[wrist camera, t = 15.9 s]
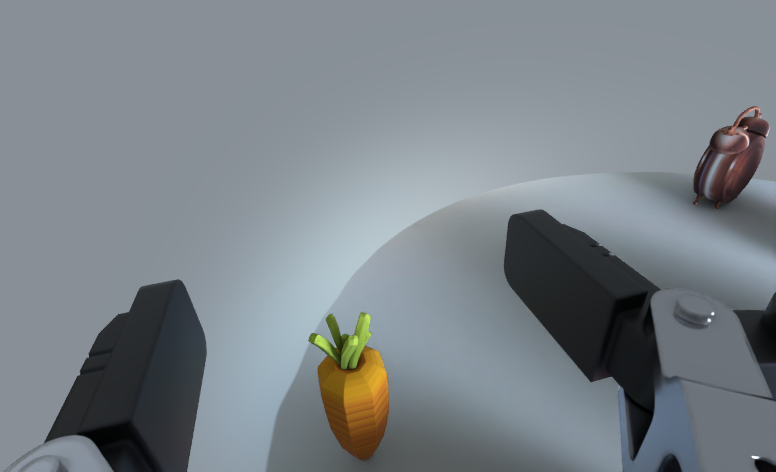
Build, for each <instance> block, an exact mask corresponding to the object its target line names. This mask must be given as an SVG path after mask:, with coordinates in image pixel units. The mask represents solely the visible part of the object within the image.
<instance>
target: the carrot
mask: <svg viewBox="0 0 776 472" xmlns="http://www.w3.org/2000/svg"><path fill="white" fill-rule="evenodd" d="M370 320H371V316H370V315H368V314H367V313H363V312H361V313H360V316H359V319H358V323H357V326H356V330H355V335H352V336H349V335H348V334H343V335H342V336H341V334H340V331H339V328H338V324H337V322H336V320H335V317H334V316H333V314H330V315H328V317H327V318H326V321H327V324H328V326H329V329H330V331H331V334H332V336H333V339H334V342H335V344H336V346H337V348H335V347H334V346H333V345H332V344H331V343H330V342H329V341H328V340H327V339H325V338H324V337H322V336H320V335H318V334H315V333H312V334H311V335H310V337H309V342H311V343H312V344H314V345H316V346H317V347H319V348H320V349H321V350H322V351H323V352H325V353H326V354H327V355H328V356H327V357H326V358H325V359H324V360H323V361H322V362H321V364H320V365H319V366H318V377H319V384H320V391H321V397H322V400H323V404H324V408H325V412H326V415H327V418H328V421H329V424H330V427H331V430H332V431H333V433H334V435H335V437H336V439H337V440H338V442H339V443H340V445H341V446H342V448H344V449H345V450H346V451H347V452H348V453H350V454H351V455H353V456H355V457H357V458H358V459H360V460H367V459H369V458H370V457H372V456H373V454H374V452H375V451H376V449H377V447H378V446H379V444H380V442H381V440H382V438H383V436H384V433H385V429H386V425H387V419H388V414H389V392H388V377H387V373H386V370H385V367H384V364H383V361H382V358H381V355H380V353H379V351H377V350H374V349H372V348H370V347H367V346H365V345H366V343H367V341H368V339H369V338H370V336H371V332H369V331H368V329H369V325H370Z"/></svg>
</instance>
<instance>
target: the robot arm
mask: <svg viewBox="0 0 776 472" xmlns="http://www.w3.org/2000/svg"><path fill="white" fill-rule="evenodd" d="M504 271H505V276H506V279H507V281H508V283H509V285H510V287H511V288H512V289H513V290H514V292H515V293H516V294H517V295H518V296H519V298H520V299H521V300H522V301H523V302H524V303H525V305H526V306H527V307H528V308H529V309H530V311H531V312H532V313H533V314H534V315H535V316H536V318H537V319H538V320H539V321H540V322H541V324H542V325H543V326H544V327H545V328H546V330H547V331H548V332H549V333H550V334H551V335H552V337H553V338H554V339H555V340H556V341H557V343H558V344H559V345H560V346H561V347H562V349H563V350H564V351H565V352H566V353H567V354H568V356H569V357H570V358H571V359H572V360H573V362H574V363H575V364H576V365H577V366H578V368H579V369H580V370H581V371H582V372H583V373H584V375H585V376H586V377H587V378H588V379H589V381H590V382H594V381H597V380H601V379H604V378H608V377H611V376H612V377H613V378H614V380H615V381H616V382H617V383H618V384H619V385H620V388H619V391H618V404H619V420H620V435H621V450H622V465H623V472H776V293H775V294H774V295H773V297H772V299H771V300H770V302H769V304H768V306H767V308H766V309H765V311H760V310H731V309H730V308H729V307H728V306H727V305H725V304H724V303H722V302H721V301H719V300H717V299H715V298H713V297H711V296H709V295H706V294H703V293H700V292H697V291H693V290H689V289H682V288H667V289H663V290H661V289H660V288H658V287H657V286H656V285H654V284H653V283H651V282H650V281H649V280H647V279H646V278H645V277H643V276H642V275H641V274H639V273H638V272H637V271H635V270H634V269H633V268H631V267H630V266H629V265H627V264H626V263H624V262H623V261H622V260H620V259H619V258H618V257H616V256H615V255H614V256H612V254H611V252H610V251H608V250H607V249H606V248H604V247H603V246H599V243H597V242H596V241H595V240H593V239H592V238H591V237H589V236H588V235H587V234H585V233H584V232H582V231H579V230H577V229H574V228H572V227H569V226H567V225H565V224H561V223H560V222H558V221H557V220H556V219H554V218H553V217H552V216H551V215H549V214H548V213H547V212H545V211H544V210H534V211H529V212H524V213H519V214H514V215H512V216H511V217H510V219H509V222H508V230H507V240H506V249H505V259H504ZM206 353H207V352H206V340H205V335H204V332H203V329H202V326H201V324H200V321H199V319H198V316H197V314H196V312H195V309H194V307H193V304H192V302H191V299H190V297H189V295H188V292H187V290H186V287H185V286H184V284H183V282H182V281H181V280H172V281H167V282H162V283H157V284H152V285H147V286H142V287H141V288H140V289H139V291H138V293H137V295H136V297H135V300H134V302H133V304H132V307H131V309H130V311H129V312H127V313H123V314H118V315H117V316H116V317H115V318H114V319H113V320H112V321H111V322H110V323H109V324H108V325H107V326H106V327H105V328H104V329H103V330H102V331H101V332H100V333H99V334H98V336H97V338H96V340H95V342H94V344H93V346H92V348H91V350H90V352H89V358H86V360H85V362H84V364H83V366H82V368H81V370H80V375H79V376H77V378H76V380H75V382H74V384H73V386H72V388H71V390H70V392H69V394H68V396H67V398H66V400H65V402H64V404H63V406H62V408H61V410H60V412H59V414H58V416H57V418H56V420H55V422H54V424H53V426H52V428H51V430H50V432H49V434H48V436H47V438H46V440H45V442H44V444H42V445H40V446H38V447H36V448H34V449H32V450H31V451H29V452H27V453H26V454H24V455H23V456H22V457H20V458H19V459H17V460H16V461H15V462H14V463H12V464H11V465H10V466H9V467H8V468H7V469H6V470H4V471H3V472H187V468H188V461H189V456H190V449H191V444H192V438H193V432H194V426H195V421H196V414H197V409H198V403H199V397H200V390H201V385H202V379H203V373H204V367H205V361H206Z"/></svg>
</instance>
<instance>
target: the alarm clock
mask: <svg viewBox="0 0 776 472" xmlns="http://www.w3.org/2000/svg"><path fill="white" fill-rule="evenodd" d="M752 110H755V116H754V117H744V118H742V117H743V116H744V115H746V114H747V113H748V112H750V111H752ZM759 111H760V110H759V107H756V106H755V107H750V108H748V109H747V110H745V111H744V112H743V113H742V114H740V115H739V116H738V118H737V120H736V121H735V123H734V125H733V126H727V127H724V128H721V129H719V130H718V131H716V132H715V133H714V134H713V136H712V138H711V140H710V145H709V147H708V148H707V149H706V151H705V152H704V154H703V156H702V158H701V160H700V162H699V164H698V166H697V169H696V171H695V175H694V179H693V190H694V192H695V193H696V194H697V197H696V200H695V202H693V204H697V202H698V200H699V199H700V198H701V197H702V196H703V197H705V198H708V199H711V200H714V201H717V205H716V206H715V208H716V209H718V208H719V205H720V204H721V202H724V203H729V202H731V201H732V200H734V199H735V198H737V196H738V195H739V194H740V193H741V191H742V190H743V189H744V188H745V187H746V185H747V184H748V183H749V181H750V180H751V178H752V177H753V175H754V173H755V171H756V169H757V168H758V165H759V163H760V160H761V157H762V154H763V151H764V146H765V138H766V137H767V135H768V132H769V124H768V123H767V122H766V121H765V120H763V119H760V117H761V116H762V115H761V113H759Z"/></svg>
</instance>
